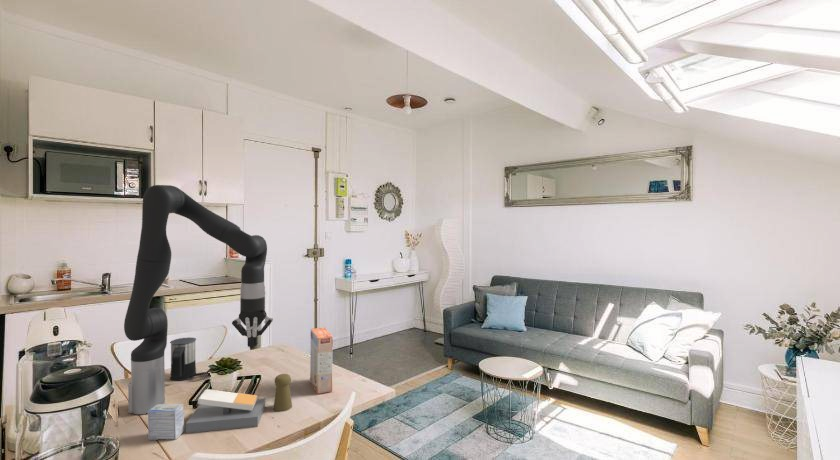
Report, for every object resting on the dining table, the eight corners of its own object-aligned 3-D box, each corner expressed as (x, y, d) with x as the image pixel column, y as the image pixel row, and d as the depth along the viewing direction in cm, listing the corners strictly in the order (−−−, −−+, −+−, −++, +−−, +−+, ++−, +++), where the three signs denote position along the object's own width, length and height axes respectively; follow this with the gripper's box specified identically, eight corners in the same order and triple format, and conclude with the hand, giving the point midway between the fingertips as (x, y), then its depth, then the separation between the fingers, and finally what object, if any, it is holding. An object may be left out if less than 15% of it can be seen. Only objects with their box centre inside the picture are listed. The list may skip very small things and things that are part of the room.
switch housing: (185, 433, 117) (185, 416, 117) (200, 412, 130) (200, 397, 130) (257, 426, 121) (257, 410, 121) (265, 406, 134) (265, 392, 134)
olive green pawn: (285, 401, 138) (285, 370, 138) (295, 406, 134) (295, 374, 134) (269, 407, 133) (269, 375, 133) (279, 413, 130) (279, 380, 129)
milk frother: (169, 375, 161) (169, 339, 160) (213, 367, 169) (213, 333, 169) (170, 387, 149) (170, 348, 148) (217, 378, 158) (217, 341, 157)
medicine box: (184, 432, 118) (184, 403, 118) (175, 440, 114) (175, 410, 113) (157, 432, 118) (157, 403, 118) (147, 440, 113) (147, 410, 113)
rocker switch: (197, 403, 120) (198, 398, 120) (204, 393, 127) (206, 388, 127) (252, 410, 124) (253, 405, 124) (256, 400, 131) (257, 395, 131)
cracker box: (333, 392, 146) (333, 335, 145) (316, 395, 143) (316, 337, 143) (325, 378, 159) (325, 326, 158) (309, 380, 156) (309, 328, 156)
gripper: (228, 298, 126) (227, 352, 126) (271, 297, 128) (271, 350, 129) (234, 294, 133) (234, 345, 134) (275, 293, 136) (275, 343, 136)
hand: (252, 347), depth 131 cm, fingers closed
